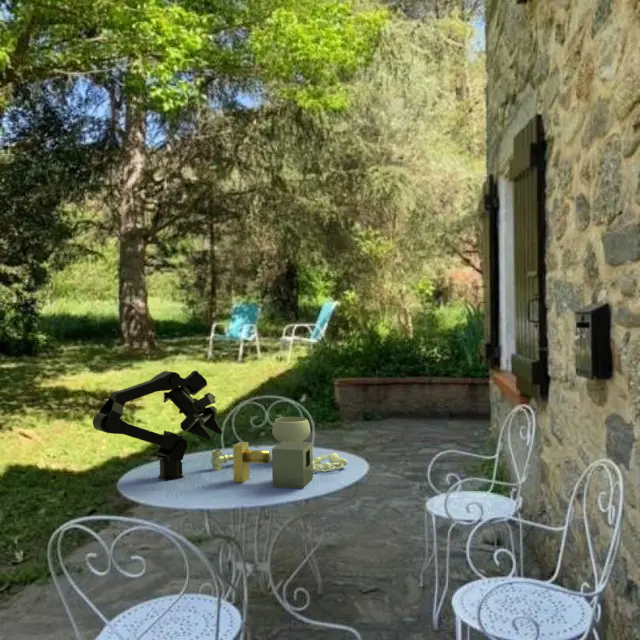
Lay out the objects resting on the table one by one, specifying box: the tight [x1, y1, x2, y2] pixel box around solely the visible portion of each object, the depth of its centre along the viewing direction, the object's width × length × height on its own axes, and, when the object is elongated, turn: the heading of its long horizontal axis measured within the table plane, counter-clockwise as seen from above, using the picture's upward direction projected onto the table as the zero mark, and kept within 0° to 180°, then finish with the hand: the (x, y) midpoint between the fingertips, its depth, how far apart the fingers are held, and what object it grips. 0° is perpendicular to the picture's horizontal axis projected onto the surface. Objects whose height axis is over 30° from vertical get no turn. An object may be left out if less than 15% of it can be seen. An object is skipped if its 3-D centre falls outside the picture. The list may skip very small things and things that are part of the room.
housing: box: [271, 441, 314, 489], centre depth 215 cm, size 10×12×12 cm
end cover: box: [232, 441, 272, 483], centre depth 218 cm, size 11×6×12 cm, turn 77°
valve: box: [210, 449, 233, 471], centre depth 238 cm, size 7×7×12 cm
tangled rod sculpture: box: [313, 452, 349, 473], centre depth 233 cm, size 19×14×4 cm
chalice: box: [271, 416, 311, 443], centre depth 248 cm, size 14×14×15 cm
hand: (216, 436), depth 225 cm, fingers open, 9 cm apart
